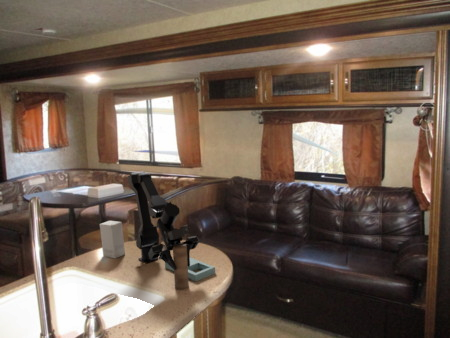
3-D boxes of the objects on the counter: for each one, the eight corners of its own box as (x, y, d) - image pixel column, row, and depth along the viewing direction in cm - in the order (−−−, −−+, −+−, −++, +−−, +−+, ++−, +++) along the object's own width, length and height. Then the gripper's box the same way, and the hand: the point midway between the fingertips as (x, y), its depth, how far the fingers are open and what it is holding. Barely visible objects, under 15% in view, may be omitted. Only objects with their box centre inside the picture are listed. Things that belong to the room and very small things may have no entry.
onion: (155, 240, 183) (154, 221, 182) (169, 243, 178) (168, 223, 177) (142, 246, 175) (141, 226, 174) (157, 249, 170) (155, 229, 169)
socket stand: (165, 267, 148) (164, 261, 148) (184, 260, 155) (184, 254, 155) (195, 281, 134) (195, 275, 133) (215, 273, 141) (215, 267, 140)
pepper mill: (172, 286, 130) (169, 247, 128) (183, 282, 134) (181, 243, 132) (180, 291, 126) (178, 250, 125) (191, 286, 130) (189, 246, 128)
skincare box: (125, 254, 165) (123, 221, 163) (114, 259, 159) (111, 225, 157) (113, 251, 169) (110, 219, 167) (101, 256, 164) (99, 223, 162)
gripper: (149, 224, 125) (164, 264, 117) (195, 215, 135) (212, 251, 128) (142, 240, 133) (156, 278, 125) (187, 230, 143) (202, 265, 135)
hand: (182, 267), depth 128 cm, fingers closed on pepper mill, 5 cm apart
